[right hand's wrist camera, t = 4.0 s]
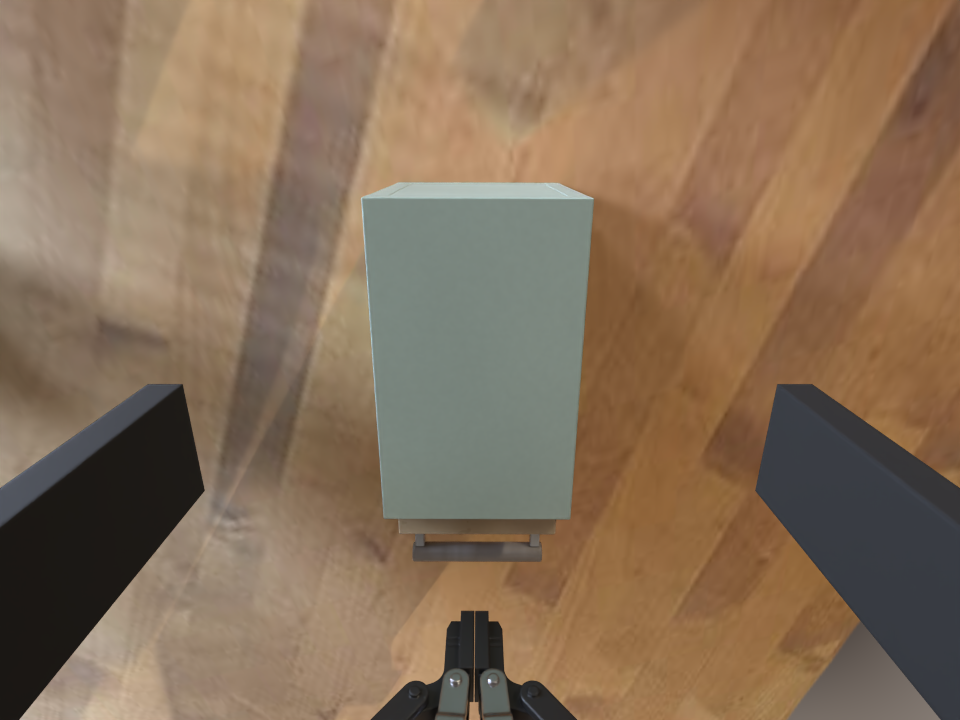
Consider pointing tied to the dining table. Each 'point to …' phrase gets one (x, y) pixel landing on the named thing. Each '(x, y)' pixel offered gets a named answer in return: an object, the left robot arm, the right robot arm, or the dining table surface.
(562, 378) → the cabinet
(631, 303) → the dining table surface
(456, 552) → the drawer
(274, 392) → the dining table surface
